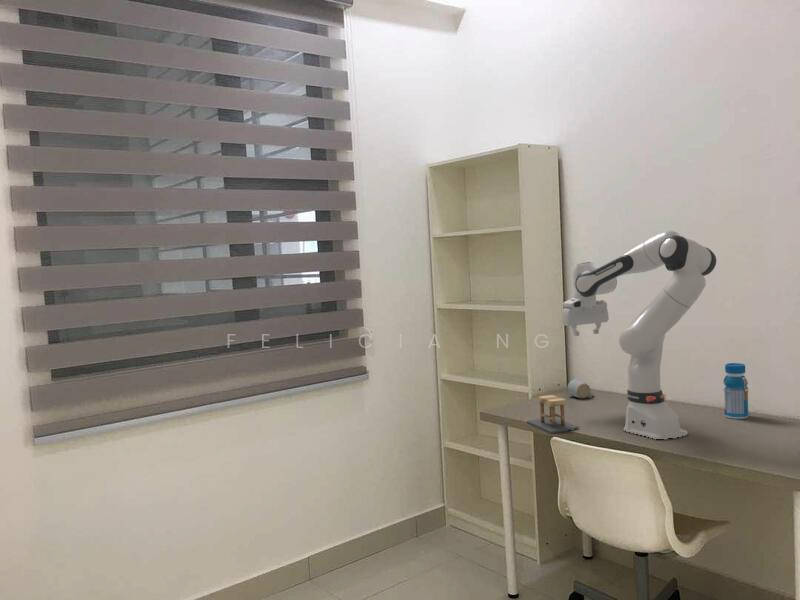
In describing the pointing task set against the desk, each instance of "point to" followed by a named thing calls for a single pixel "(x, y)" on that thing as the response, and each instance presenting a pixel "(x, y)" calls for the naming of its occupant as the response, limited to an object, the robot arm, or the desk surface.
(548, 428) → the charcoal mat
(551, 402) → the oak stool
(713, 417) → the desk surface
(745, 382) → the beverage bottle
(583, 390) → the ceramic mug
